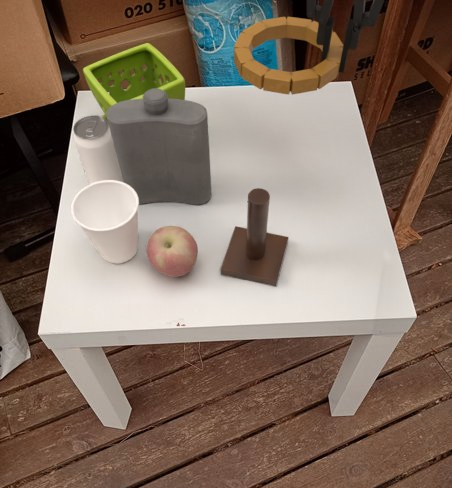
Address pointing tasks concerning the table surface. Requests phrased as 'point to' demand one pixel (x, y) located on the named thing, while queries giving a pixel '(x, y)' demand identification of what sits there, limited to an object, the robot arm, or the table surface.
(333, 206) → the table surface
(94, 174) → the can
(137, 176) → the flask
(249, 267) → the peg stand
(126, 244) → the cup
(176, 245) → the apple
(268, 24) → the hoop
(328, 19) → the robot arm
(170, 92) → the flower pot
